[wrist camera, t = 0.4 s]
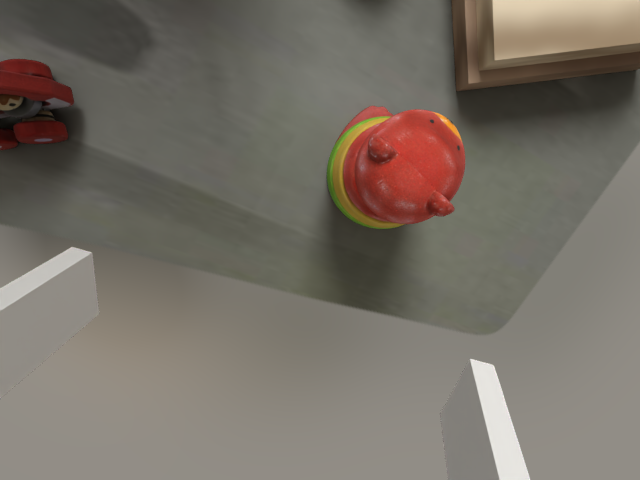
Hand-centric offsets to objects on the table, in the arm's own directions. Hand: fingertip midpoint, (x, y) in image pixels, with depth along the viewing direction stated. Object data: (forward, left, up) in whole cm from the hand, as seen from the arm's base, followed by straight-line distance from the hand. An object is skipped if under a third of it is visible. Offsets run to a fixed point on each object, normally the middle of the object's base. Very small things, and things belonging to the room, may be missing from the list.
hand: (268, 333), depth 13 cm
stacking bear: (-5, +8, -27) cm, 28 cm away
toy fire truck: (-15, -26, -27) cm, 40 cm away
